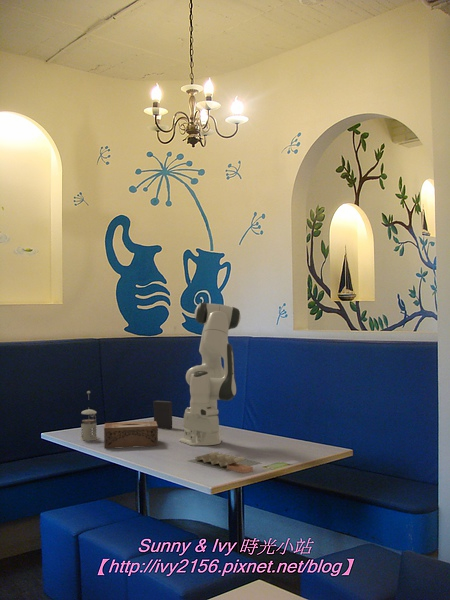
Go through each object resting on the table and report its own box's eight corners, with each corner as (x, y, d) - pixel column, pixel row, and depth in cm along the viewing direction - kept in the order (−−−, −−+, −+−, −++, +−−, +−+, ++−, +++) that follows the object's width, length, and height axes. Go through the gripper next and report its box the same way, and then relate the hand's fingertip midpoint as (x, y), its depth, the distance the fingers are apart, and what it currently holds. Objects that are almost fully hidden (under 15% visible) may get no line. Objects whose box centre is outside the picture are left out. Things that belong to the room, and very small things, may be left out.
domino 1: (195, 457, 273) (209, 453, 266) (204, 455, 277) (218, 451, 270) (195, 461, 273) (210, 457, 266) (204, 459, 276) (219, 455, 269)
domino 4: (219, 462, 262) (234, 458, 254) (228, 460, 265) (243, 456, 258) (219, 466, 261) (235, 462, 254) (229, 464, 264) (244, 460, 257)
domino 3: (210, 461, 266) (225, 456, 259) (219, 459, 269) (234, 454, 262) (211, 465, 265) (226, 460, 258) (220, 463, 269) (235, 458, 262)
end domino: (226, 464, 258) (243, 469, 251) (235, 462, 262) (252, 466, 254) (226, 468, 258) (244, 473, 251) (235, 466, 262) (253, 470, 254)
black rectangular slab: (173, 428, 361) (172, 401, 361) (168, 429, 357) (168, 402, 357) (157, 426, 366) (157, 400, 367) (153, 427, 363) (152, 401, 363)
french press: (76, 440, 328) (75, 391, 329) (86, 436, 339) (85, 389, 340) (93, 441, 326) (93, 392, 326) (103, 436, 337) (102, 389, 337)
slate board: (186, 463, 274) (186, 460, 274) (221, 455, 287) (221, 453, 287) (227, 473, 254) (227, 471, 254) (262, 465, 268) (262, 463, 268)
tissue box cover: (104, 448, 307) (104, 428, 307) (105, 443, 321) (104, 423, 322) (157, 446, 311) (157, 425, 311) (156, 440, 325) (156, 421, 326)
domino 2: (202, 459, 270) (217, 455, 263) (211, 457, 273) (226, 453, 266) (203, 463, 269) (218, 459, 262) (212, 461, 273) (227, 457, 266)
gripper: (179, 407, 281) (180, 439, 280) (209, 412, 265) (210, 445, 265) (190, 406, 285) (191, 437, 284) (221, 410, 270) (221, 443, 269)
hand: (200, 441), depth 275 cm, fingers closed
